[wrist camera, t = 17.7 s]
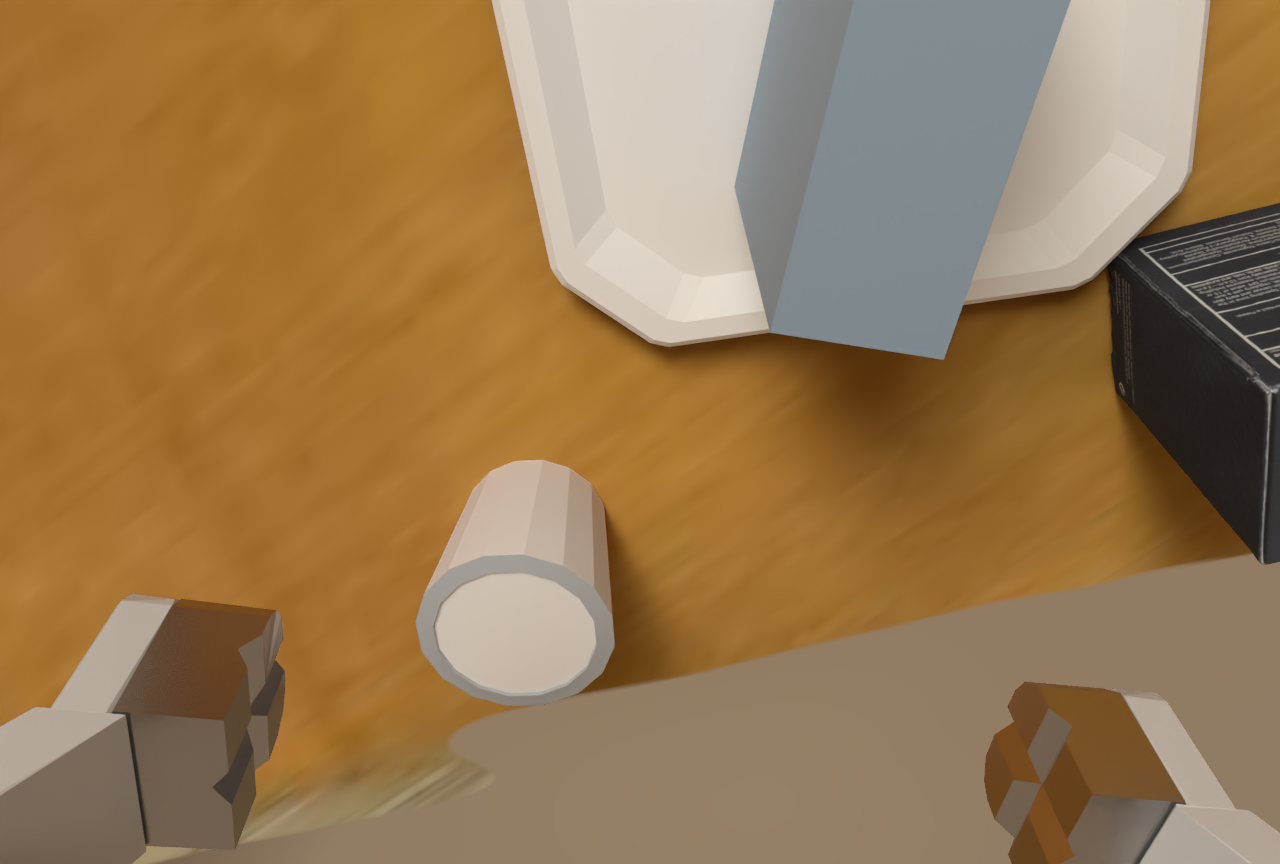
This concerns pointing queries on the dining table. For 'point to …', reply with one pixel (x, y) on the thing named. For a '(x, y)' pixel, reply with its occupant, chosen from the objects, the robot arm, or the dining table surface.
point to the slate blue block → (884, 159)
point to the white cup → (522, 589)
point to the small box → (1209, 359)
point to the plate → (716, 127)
